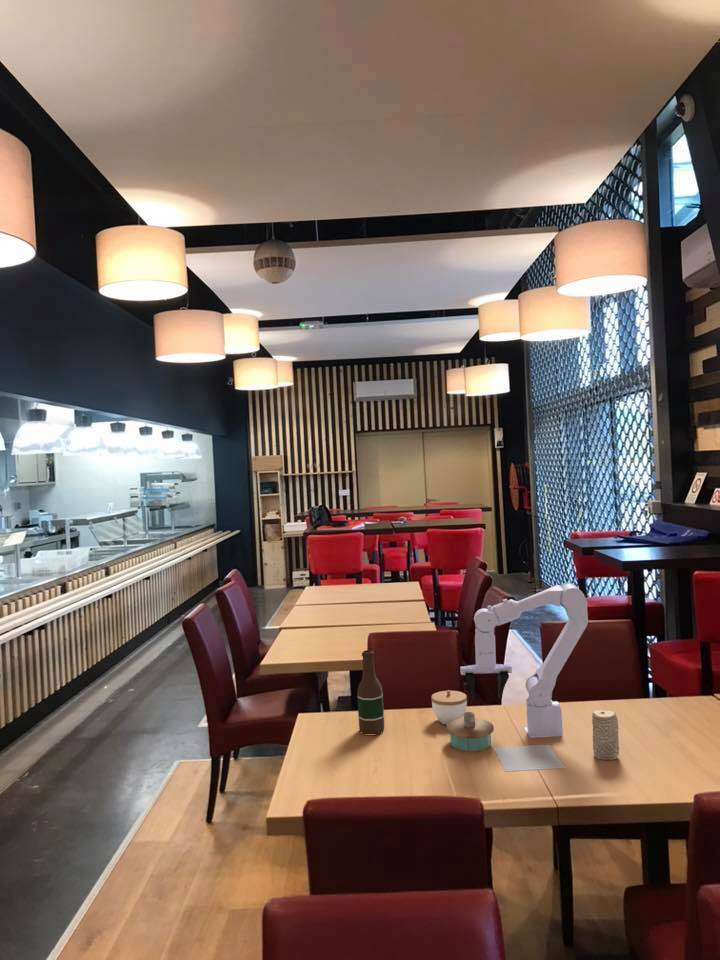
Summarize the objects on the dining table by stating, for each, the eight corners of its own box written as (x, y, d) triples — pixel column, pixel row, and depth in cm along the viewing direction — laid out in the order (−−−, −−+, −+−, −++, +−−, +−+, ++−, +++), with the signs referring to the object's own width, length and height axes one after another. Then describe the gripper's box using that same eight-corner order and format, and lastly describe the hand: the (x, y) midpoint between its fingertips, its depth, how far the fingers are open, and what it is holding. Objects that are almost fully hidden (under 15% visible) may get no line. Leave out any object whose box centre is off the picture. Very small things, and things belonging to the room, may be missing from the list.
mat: (548, 746, 194) (548, 744, 193) (565, 770, 178) (564, 767, 178) (493, 750, 193) (493, 747, 193) (505, 773, 178) (505, 771, 178)
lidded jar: (467, 714, 221) (465, 684, 221) (468, 727, 211) (467, 696, 211) (432, 715, 223) (430, 685, 222) (432, 728, 212) (430, 697, 212)
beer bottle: (389, 728, 214) (385, 649, 213) (376, 737, 207) (371, 655, 206) (368, 724, 218) (363, 646, 217) (354, 733, 211) (349, 653, 211)
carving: (589, 761, 183) (587, 714, 183) (599, 750, 189) (596, 706, 189) (614, 766, 179) (611, 719, 179) (623, 755, 185) (621, 709, 185)
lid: (486, 719, 204) (485, 704, 204) (499, 735, 191) (498, 720, 191) (442, 722, 203) (441, 708, 203) (452, 740, 190) (451, 724, 190)
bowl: (486, 736, 203) (485, 720, 203) (494, 751, 192) (493, 735, 192) (448, 738, 203) (447, 722, 203) (453, 754, 192) (453, 737, 192)
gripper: (462, 655, 200) (464, 703, 201) (513, 654, 200) (515, 701, 201) (458, 649, 207) (460, 695, 208) (508, 647, 208) (509, 693, 208)
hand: (486, 698), depth 205 cm, fingers open, 7 cm apart
